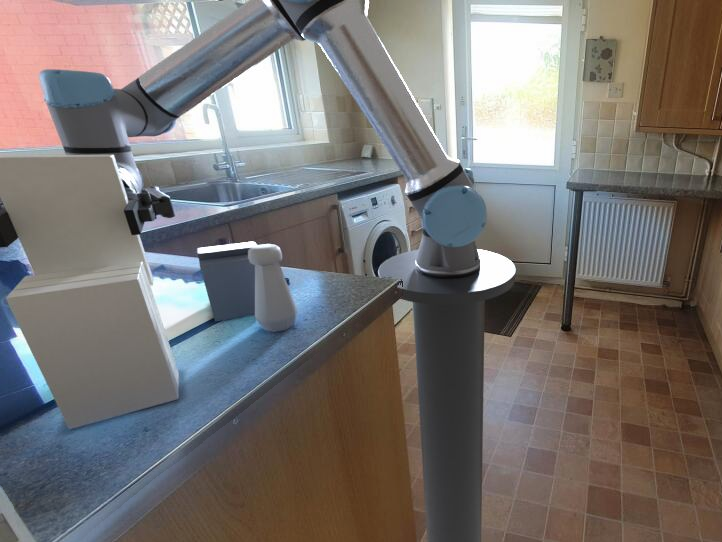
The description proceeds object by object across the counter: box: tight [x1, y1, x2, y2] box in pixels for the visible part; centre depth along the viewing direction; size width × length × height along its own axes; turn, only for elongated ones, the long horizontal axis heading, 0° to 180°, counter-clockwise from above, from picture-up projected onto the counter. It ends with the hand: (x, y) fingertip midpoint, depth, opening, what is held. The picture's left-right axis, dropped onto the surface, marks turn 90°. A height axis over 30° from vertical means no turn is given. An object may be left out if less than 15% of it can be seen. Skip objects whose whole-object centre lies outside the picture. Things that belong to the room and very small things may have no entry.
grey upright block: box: [196, 241, 258, 323], centre depth 67 cm, size 8×8×10 cm
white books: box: [5, 262, 180, 430], centre depth 44 cm, size 9×6×15 cm
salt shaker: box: [248, 243, 298, 333], centre depth 62 cm, size 6×6×13 cm
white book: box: [0, 154, 155, 287], centre depth 45 cm, size 9×2×15 cm, turn 127°
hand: (68, 227), depth 41 cm, fingers closed on white book, 9 cm apart
